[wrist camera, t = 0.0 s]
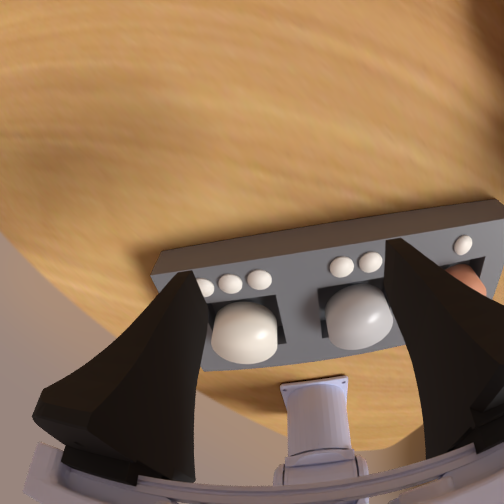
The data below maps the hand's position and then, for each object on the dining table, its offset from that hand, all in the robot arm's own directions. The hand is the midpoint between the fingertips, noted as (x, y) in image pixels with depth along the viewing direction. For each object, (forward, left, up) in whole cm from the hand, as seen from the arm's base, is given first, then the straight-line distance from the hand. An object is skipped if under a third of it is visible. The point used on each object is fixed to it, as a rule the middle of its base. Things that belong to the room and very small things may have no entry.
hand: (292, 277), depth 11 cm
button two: (-10, -4, -7) cm, 13 cm away
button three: (-10, +5, -7) cm, 13 cm away
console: (-10, -4, -10) cm, 15 cm away
